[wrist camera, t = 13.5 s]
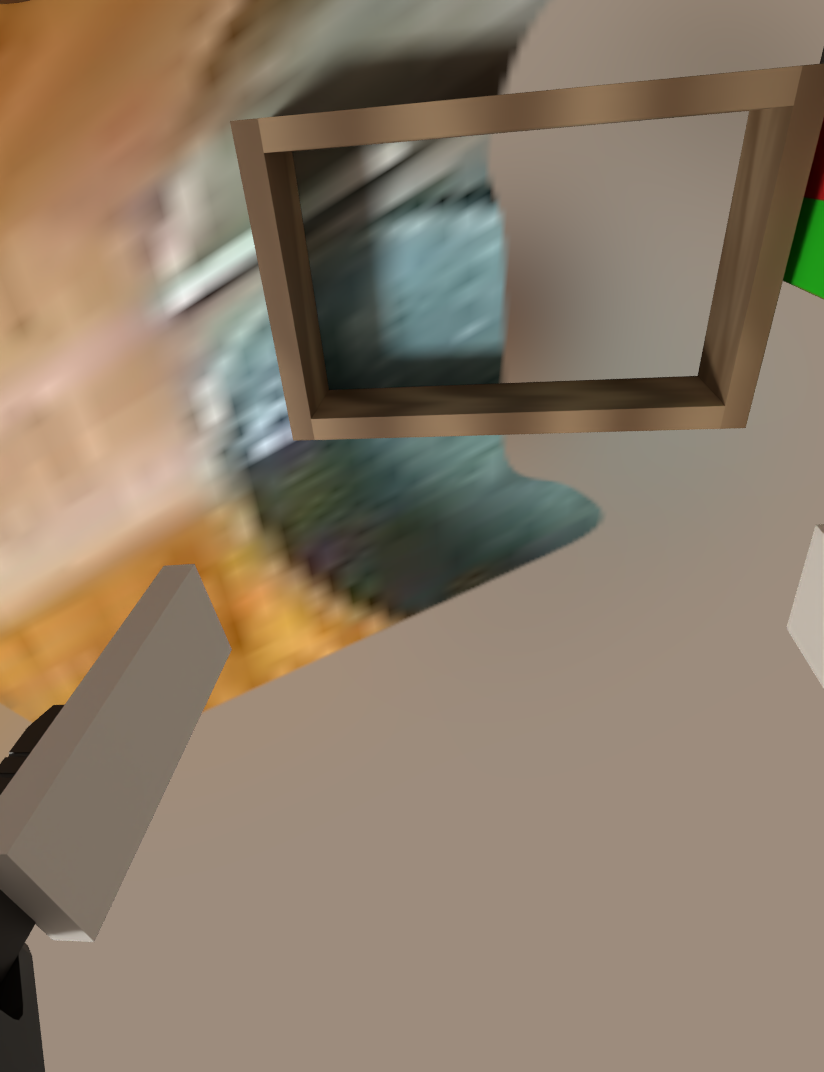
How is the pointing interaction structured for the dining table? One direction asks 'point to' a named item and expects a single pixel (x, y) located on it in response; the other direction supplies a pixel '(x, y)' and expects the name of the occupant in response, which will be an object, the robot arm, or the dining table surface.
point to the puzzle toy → (810, 232)
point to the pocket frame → (553, 407)
